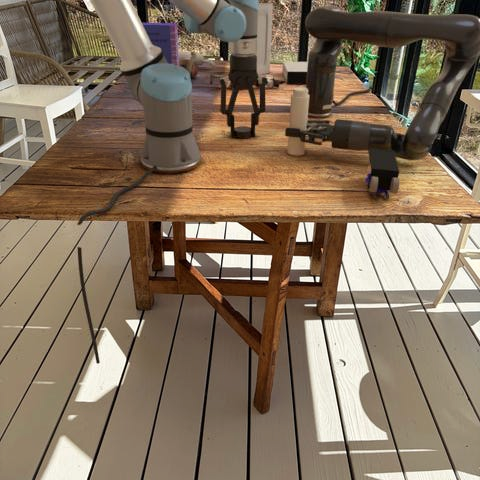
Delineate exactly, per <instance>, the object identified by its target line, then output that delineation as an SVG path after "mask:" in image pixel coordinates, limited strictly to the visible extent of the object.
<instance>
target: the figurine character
mask: <svg viewBox="0 0 480 480" xmlns="http://www.w3.org/2000/svg"><path fill="white" fill-rule="evenodd" d="M367 153H368V158H369V165H368V166H367V169H366V173H367V174H366V177H365V182H366V184H367V189H368V190H369V193H372V198H374V199H377V194H384V197H385V199H386V200H389V199H390V194H398V192H399V188H400V178H399V175H400V169H399V164H398V161H397V157H395V153H394V151H388V150H378V149H368V150H367ZM389 192H390V193H389ZM376 193H377V194H376Z"/></svg>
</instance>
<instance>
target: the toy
mask: <svg viewBox="0 0 480 480" xmlns="http://www.w3.org/2000/svg"><path fill="white" fill-rule="evenodd" d="M178 52H179V62H180V61H181V59H183V58H185V59H189V60H190V59H191V57H192V55H191V52H187V51H178ZM194 52H195V53H196V59H195V61H194V62H195V64H196V66H197V68H198V69H199V66H202V65H204V64H209V65H210V66H211V67H213V68H214V67H217V66H216V63H215V62H214V61H213V60H211V59H209V58H206V59H205V57H204V56H203V55H201V54H198V52H197V51H194Z"/></svg>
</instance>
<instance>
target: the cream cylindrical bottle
mask: <svg viewBox="0 0 480 480" xmlns="http://www.w3.org/2000/svg"><path fill="white" fill-rule="evenodd" d="M308 92H309V91H308V89H307V88H306V87H303V86H299V87H294V88H292V93H291V94H290V105H289V106H290V107H289V123H288V128H297V129H307V121H308V118H309V116H308V108H309V96H310V95H309V94H308ZM305 136H307V135H305ZM286 151H287V152H286V153H287V154H289V155H290V156H295V157H296V156H297V157H298V156H303V155H304V154H306V153H305V151H306V142H301V141H300V139H299V138H297V137H288V136H287V150H286Z"/></svg>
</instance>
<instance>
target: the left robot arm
mask: <svg viewBox="0 0 480 480" xmlns="http://www.w3.org/2000/svg"><path fill="white" fill-rule="evenodd" d="M89 1H90V3H91V5H92V7H93V10H94V11H95V12H96V14H97V16H98V18H99V20H100V22H101V24H102V26H103V28H104V29H105V31H106V33H107V35H108V37H109V39H110V40H111V42H112V45H113V46H114V48H115V50H116V52H117V53H118V56H119V57H120V59H121V63H120V66H119V70H120V72H121V74H122V75H123V77H124V79H125V81H126V83H127V86H128V89H129V92H130V93H131V96H132V97H133V98H134V99H135V100H136V101H137V102H138V103H139V104H140V105H141V107H142V108H143V115H144V125H145V138H144V142H143V146H142V150H141V154H140V162H141V166H142V168H144V169H145V170H146V171H147V172H146V173H144V175H142V176H141V177H140V178H139V179H138V180H136V182H134V183H132V184H130V185H127V186H125V187H123V188H122V189H120V190H118V191H117V192H116V193H115V194H114V195H113V196H112V198H111V200H110V202H109V204H108V205H107V206H106V207H104V208H101V209H96V210H91V211H88V212H86V213H84V214H82V216H81V217H80V218H79V219H78V222H77V223H76V224H77V226H81V225H82V224H83V223H84V221H85V220H86V219H87V218H88V217H91V216H94V215H98V214H99V215H100V214H103V213H106V212H108V211H109V210H110V209H111V208H112V207H113V206H114V205H115V203H116V200H117V198H118V197H119V196H121V195H122V194H123V193H125V192H127V191H130V190H132V189H134V188H135V187H137V186H139V185H140V184H141V183H142V182H143V181H145V179H146V178H147V177H148V176H150V174H152V173H156V174H163V175H164V174H165V175H169V174H170V175H172V174H173V175H175V174H182V173H187V172H190V171H193V170H195V169H197V168H198V167H199V166H201V163H202V155H201V151H200V149H199V146H198V143H197V141H196V137H195V135H194V130H193V129H194V126H193V101H192V100H193V99H192V98H193V97H192V89H193V83H192V80H191V79H192V78H190V74H189V72H188V71H187V70H186V69H185V68H183V67H181V66H176V65H174V64H168V63H167V61H166V59H165V57H164V54H163V52H162V50H161V48H159V47H156V46H154V45H152V43H151V41H150V39H149V37H148V35H147V33H146V31H145V29H144V27H143V25H142V23H143V22H142V21H141V18H140V16H139V15H138V11H136V8H135V6H134V4H133V2H132V0H89ZM167 1H168V2H169V3H171V4H172V5H173V6H175V7H176V8H177V9H179V10H180V11H181V12H182V13H183V22H184V28H185V29H186V31H187V33H189V34H197V35H200V34H207V35H209V36H210V37H214V38H216V39H218V40H220V41H221V42H223V43H229V53H230V55H229V72H228V74H227V75H226V76H227V77H224V78H222V77H220V78H218V82H219V84H220V107H219V108H220V109H219V110H220V113H221V115H223V116H226V125H227V127H228V128H230V137H231V139H235V138H236V137H235V132H234V128H235V115H234V113H233V112H234V109H235V105H236V102H237V99H238V94H239V92H240V91H242V90H246V91H248V95H249V99H250V102H251V106H252V110H253V112H251V113H250V127H251V128H252V135H251V136H250V137H252V138H256V126H259V124H260V115H261V114H263V113H266V87H267V86H266V83H267V79H268V77H266V75H258V73H257V56H256V55H255V54H256V53H257V24H258V3H259V0H167ZM257 79H258V82H259V84H260V85H259V87H258V88H259V90H258V91H259V105H258V101H257V98H256V94H255V90H254V86H255V85H254V83H255V82H256V80H257ZM229 80H230V81H231V83H232V84H233V88H231V94H230V98H229V101H228V104H227V86H229V82H230V81H229ZM82 252H83V251H82V247H80V246H77V263H78V273H79V282H80V289H81V294H82V300H83V303H84V304H83V305H84V308H85V309H84V310H85V315H86V320H87V324H88V329H89V333H90V338H91V341H92V347H93V351H94V358H95V362H96V364H97V365H98V364H100V362H101V361H100V357H99V355H100V354H99V349H98V345H97V340H96V336H95V335H96V334H95V330H94V326H93V320H92V316H91V312H90V306H89V301H88V297H87V290H86V284H85V277H84V267H83V256H82V255H83V253H82Z"/></svg>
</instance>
